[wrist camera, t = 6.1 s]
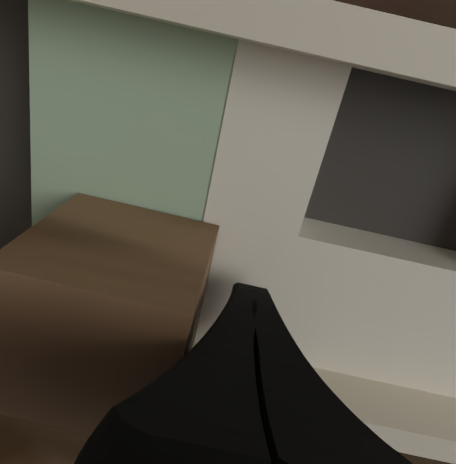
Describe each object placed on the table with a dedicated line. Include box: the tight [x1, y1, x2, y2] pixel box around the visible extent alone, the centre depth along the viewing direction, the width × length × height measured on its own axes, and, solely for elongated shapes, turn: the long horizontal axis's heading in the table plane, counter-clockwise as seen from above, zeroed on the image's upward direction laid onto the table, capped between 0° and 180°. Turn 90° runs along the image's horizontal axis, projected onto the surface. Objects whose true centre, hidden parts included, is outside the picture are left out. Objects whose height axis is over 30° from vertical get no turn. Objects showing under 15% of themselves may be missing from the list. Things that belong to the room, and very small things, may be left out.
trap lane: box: [0, 0, 456, 464], centre depth 12 cm, size 12×28×4 cm, turn 78°
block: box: [0, 193, 219, 435], centre depth 11 cm, size 4×4×4 cm
